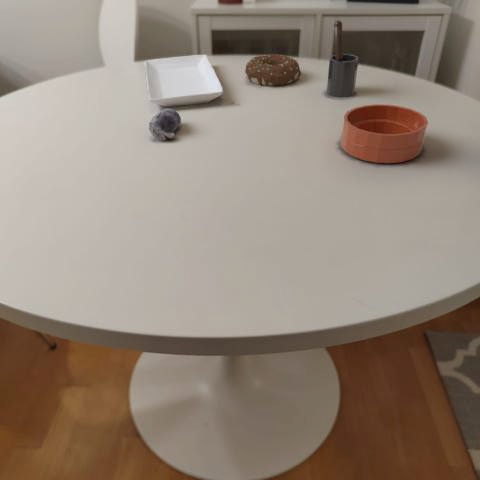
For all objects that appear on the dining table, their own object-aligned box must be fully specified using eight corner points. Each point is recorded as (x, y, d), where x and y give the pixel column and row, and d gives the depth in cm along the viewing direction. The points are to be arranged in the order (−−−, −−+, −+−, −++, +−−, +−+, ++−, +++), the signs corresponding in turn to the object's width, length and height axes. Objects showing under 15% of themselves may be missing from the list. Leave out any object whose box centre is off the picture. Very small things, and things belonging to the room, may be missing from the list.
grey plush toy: (166, 150, 89) (173, 131, 97) (181, 128, 86) (186, 110, 94) (142, 134, 87) (151, 116, 95) (156, 111, 84) (164, 94, 92)
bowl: (367, 127, 91) (371, 99, 88) (434, 146, 84) (442, 116, 80) (325, 150, 84) (328, 121, 80) (394, 174, 76) (401, 142, 73)
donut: (243, 74, 120) (242, 53, 117) (295, 71, 120) (296, 50, 117) (247, 92, 109) (246, 69, 106) (303, 89, 110) (305, 66, 106)
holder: (336, 88, 109) (340, 52, 104) (359, 94, 105) (364, 57, 100) (320, 95, 106) (323, 58, 100) (343, 101, 102) (348, 63, 97)
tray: (150, 114, 100) (147, 98, 98) (146, 72, 124) (143, 58, 121) (225, 107, 102) (224, 91, 100) (207, 67, 126) (206, 53, 123)
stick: (339, 89, 106) (337, 18, 94) (345, 91, 105) (343, 19, 93) (335, 93, 105) (332, 21, 93) (341, 94, 104) (339, 22, 93)
